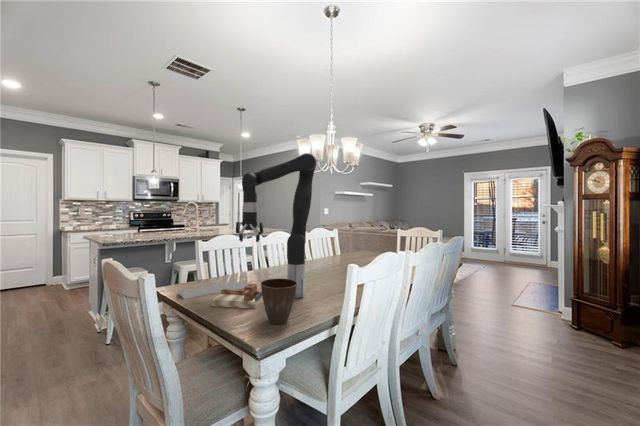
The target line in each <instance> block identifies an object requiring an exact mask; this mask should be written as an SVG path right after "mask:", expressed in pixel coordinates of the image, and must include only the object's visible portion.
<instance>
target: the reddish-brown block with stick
mask: <svg viewBox="0 0 640 426" xmlns="http://www.w3.org/2000/svg"><path fill="white" fill-rule="evenodd" d="M247 284H248V285H247V286H245V287H244V289H243V290H244V293H243V295H244V300H253V299H254V298H255V296H256V295H257V291H258V284H257V283H247Z"/></svg>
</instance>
